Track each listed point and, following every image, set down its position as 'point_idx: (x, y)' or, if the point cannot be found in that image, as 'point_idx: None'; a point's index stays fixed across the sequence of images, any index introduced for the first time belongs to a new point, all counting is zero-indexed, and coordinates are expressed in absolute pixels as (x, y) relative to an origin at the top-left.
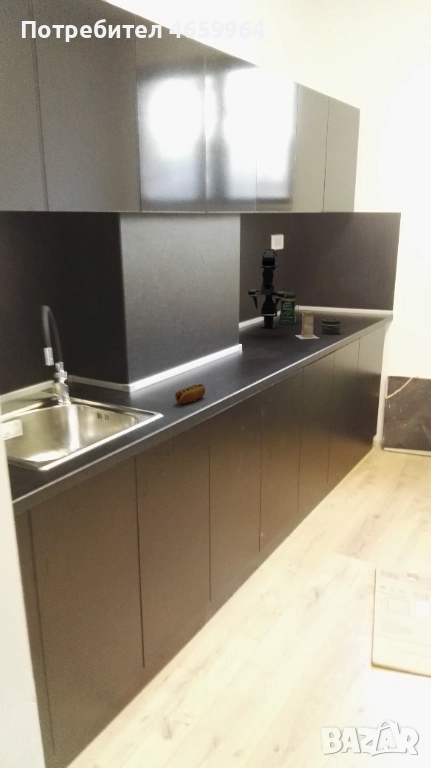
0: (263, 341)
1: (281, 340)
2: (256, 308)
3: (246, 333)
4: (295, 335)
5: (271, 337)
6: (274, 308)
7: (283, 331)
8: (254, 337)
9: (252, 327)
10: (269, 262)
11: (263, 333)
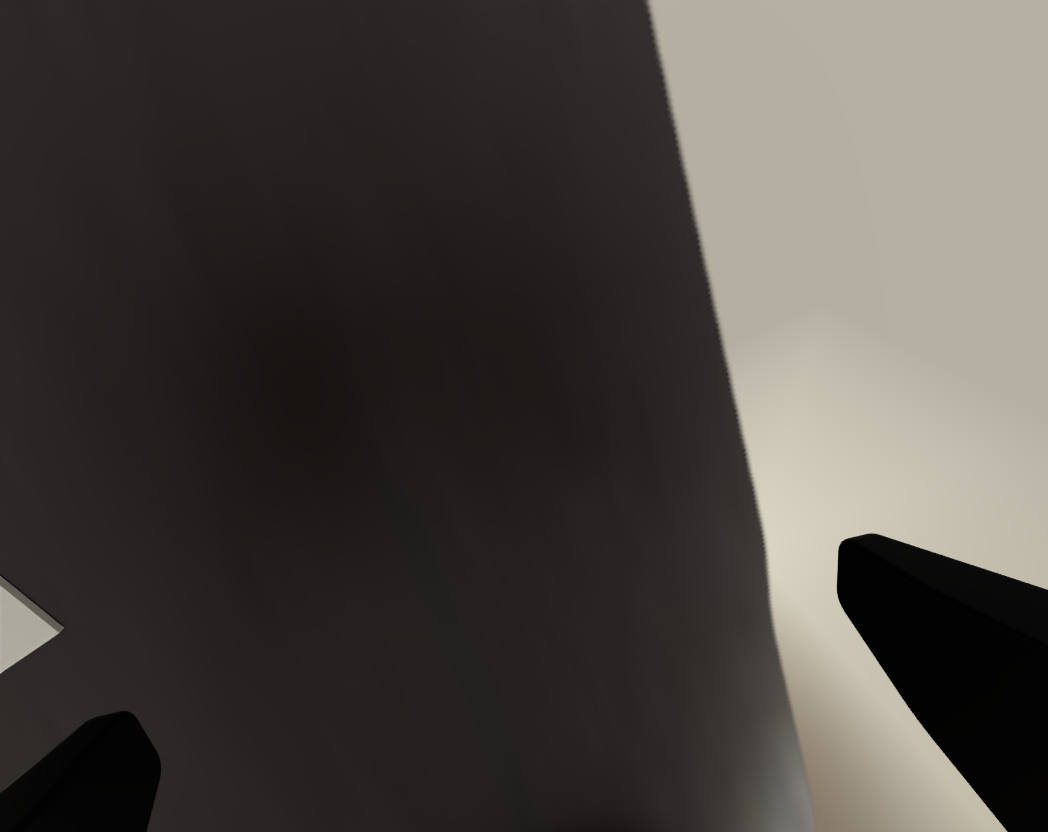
0: (344, 32)
1: (89, 226)
2: (883, 544)
3: (740, 510)
4: (43, 627)
5: (345, 396)
6: (28, 803)
7: (346, 799)
8: (578, 303)
9: (746, 817)
10: None
11: (541, 595)
